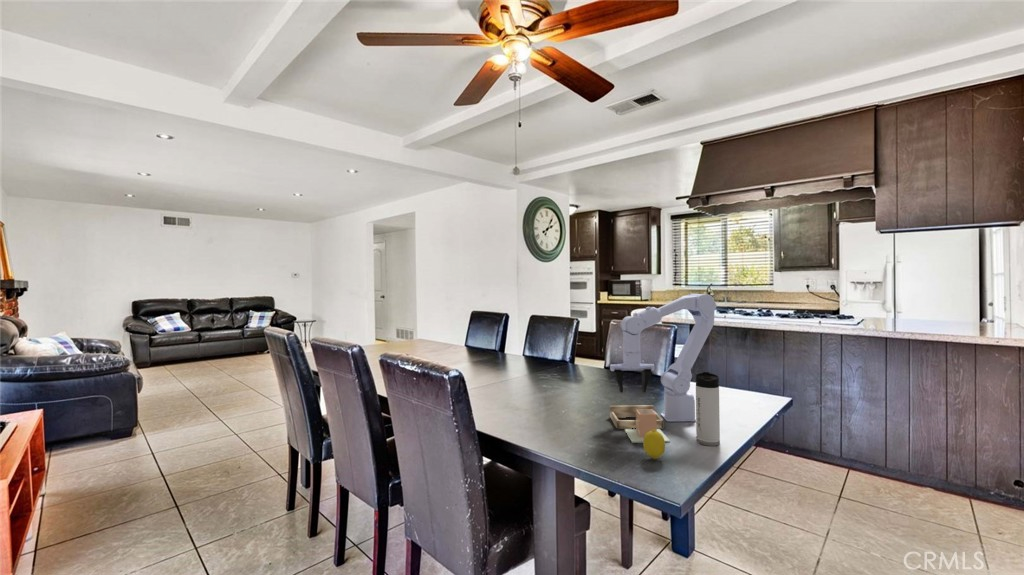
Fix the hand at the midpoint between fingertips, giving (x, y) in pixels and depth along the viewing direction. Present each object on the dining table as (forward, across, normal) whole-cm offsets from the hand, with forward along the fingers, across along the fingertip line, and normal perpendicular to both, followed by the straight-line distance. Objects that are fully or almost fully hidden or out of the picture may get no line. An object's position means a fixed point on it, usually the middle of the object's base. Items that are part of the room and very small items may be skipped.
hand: (632, 391), depth 148 cm
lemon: (+10, -2, -32) cm, 34 cm away
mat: (+10, 0, -15) cm, 18 cm away
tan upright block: (+9, 0, -15) cm, 17 cm away
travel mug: (+10, +17, -20) cm, 28 cm away
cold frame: (+10, 0, -2) cm, 10 cm away
